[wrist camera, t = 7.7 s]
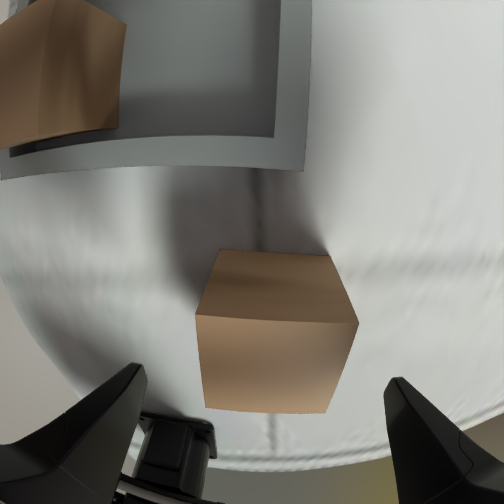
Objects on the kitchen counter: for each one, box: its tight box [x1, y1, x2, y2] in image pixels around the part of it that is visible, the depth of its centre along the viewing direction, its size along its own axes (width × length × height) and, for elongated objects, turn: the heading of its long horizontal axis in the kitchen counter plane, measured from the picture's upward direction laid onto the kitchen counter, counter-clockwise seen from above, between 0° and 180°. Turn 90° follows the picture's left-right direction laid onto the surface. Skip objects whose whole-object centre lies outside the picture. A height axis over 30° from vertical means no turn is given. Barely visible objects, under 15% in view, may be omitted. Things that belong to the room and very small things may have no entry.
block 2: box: [195, 249, 359, 414], centre depth 11 cm, size 5×5×5 cm
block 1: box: [0, 0, 127, 150], centre depth 7 cm, size 5×5×5 cm
